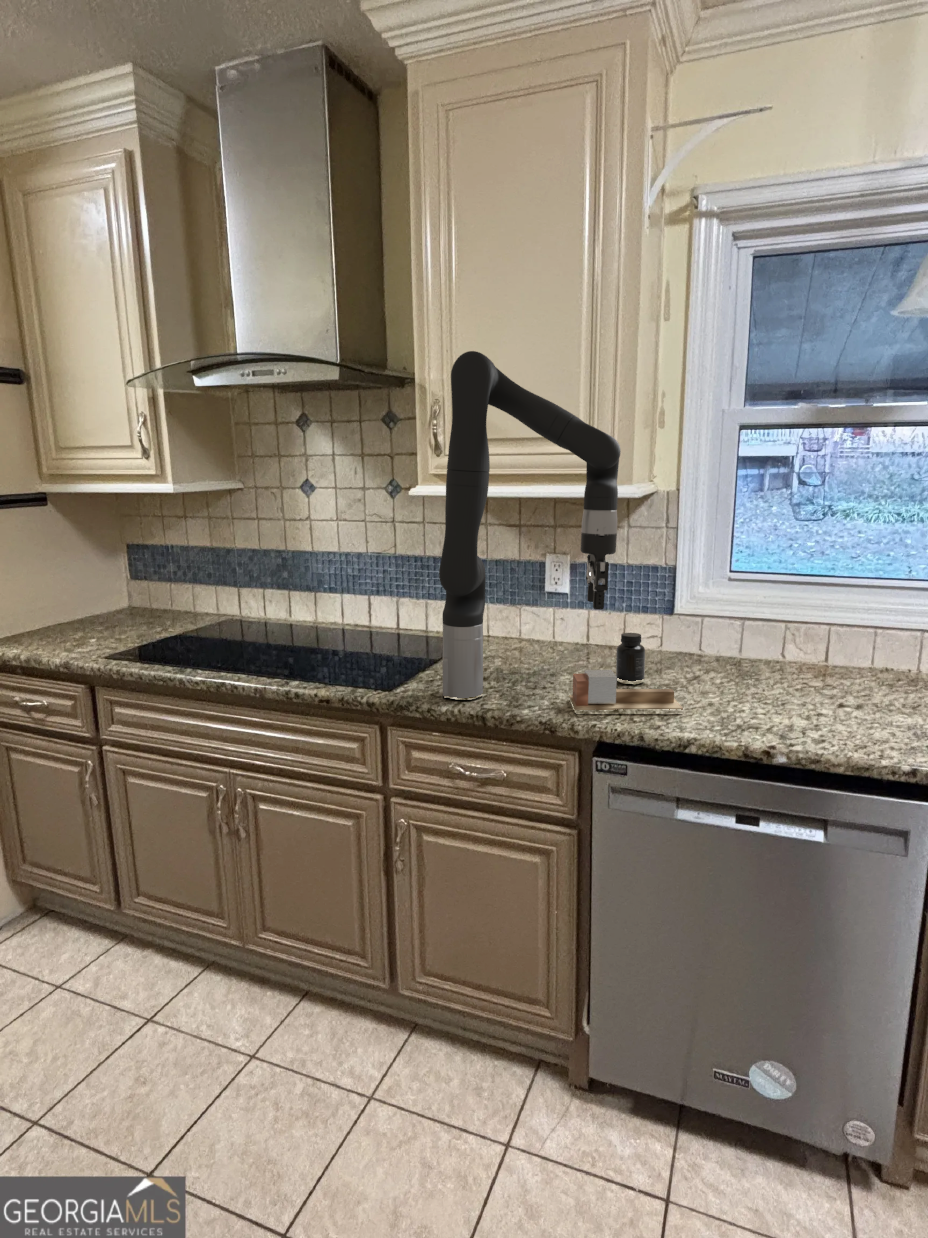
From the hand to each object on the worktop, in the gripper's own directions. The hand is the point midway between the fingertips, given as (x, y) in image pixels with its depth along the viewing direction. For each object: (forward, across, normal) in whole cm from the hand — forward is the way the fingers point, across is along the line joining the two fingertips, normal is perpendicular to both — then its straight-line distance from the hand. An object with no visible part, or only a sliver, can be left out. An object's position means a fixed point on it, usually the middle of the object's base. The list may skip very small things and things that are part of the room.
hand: (595, 605), depth 159 cm
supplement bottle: (+22, -16, +12) cm, 30 cm away
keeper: (+20, +4, +1) cm, 21 cm away
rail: (+22, +4, +7) cm, 23 cm away
